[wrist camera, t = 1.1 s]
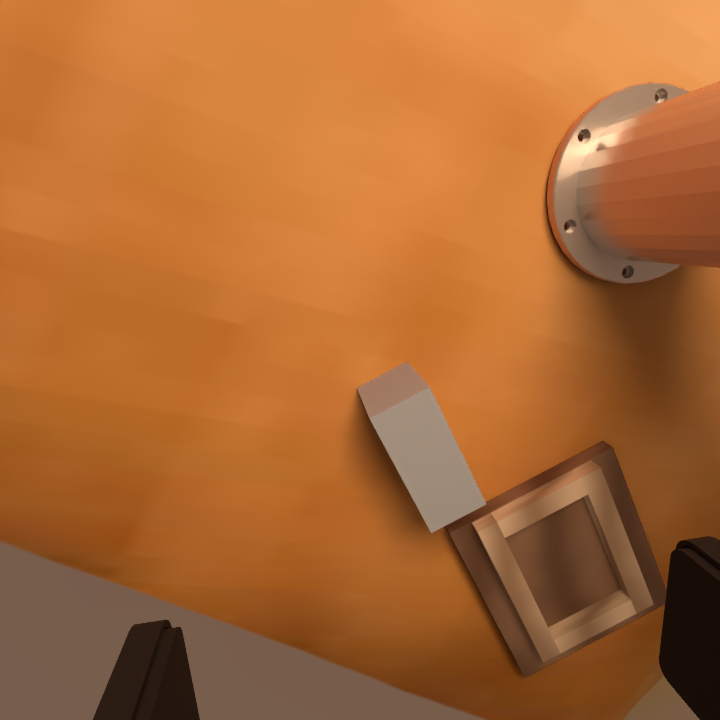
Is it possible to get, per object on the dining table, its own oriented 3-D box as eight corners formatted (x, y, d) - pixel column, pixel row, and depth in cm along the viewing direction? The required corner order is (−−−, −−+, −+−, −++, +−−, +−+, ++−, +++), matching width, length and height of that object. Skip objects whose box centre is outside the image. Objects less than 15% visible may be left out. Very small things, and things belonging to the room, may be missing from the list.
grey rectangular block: (406, 361, 34) (429, 387, 29) (457, 465, 37) (488, 507, 31) (356, 387, 34) (369, 418, 29) (411, 489, 37) (433, 536, 31)
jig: (603, 440, 38) (623, 454, 36) (660, 591, 43) (681, 611, 40) (444, 524, 38) (454, 543, 36) (518, 665, 43) (531, 690, 40)
